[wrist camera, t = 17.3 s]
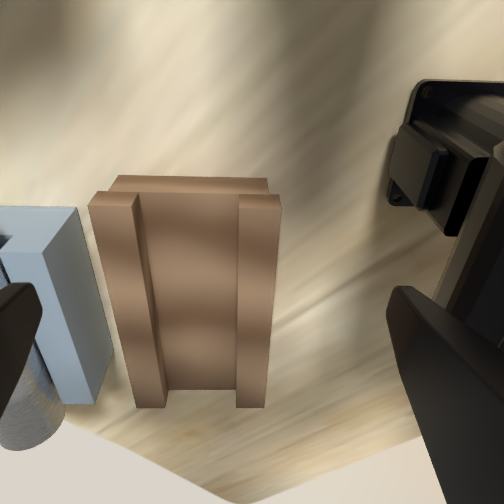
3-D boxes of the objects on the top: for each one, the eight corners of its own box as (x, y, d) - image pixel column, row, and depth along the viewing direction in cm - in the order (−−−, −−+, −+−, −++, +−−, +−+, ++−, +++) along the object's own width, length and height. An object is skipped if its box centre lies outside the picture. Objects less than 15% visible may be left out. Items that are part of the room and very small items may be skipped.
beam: (109, 174, 20) (87, 205, 17) (275, 178, 21) (281, 208, 18) (146, 367, 29) (136, 408, 26) (262, 367, 30) (264, 408, 27)
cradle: (-99, 204, 21) (-172, 249, 17) (76, 207, 21) (41, 252, 18) (-18, 349, 28) (-58, 404, 24) (113, 350, 28) (94, 404, 24)
